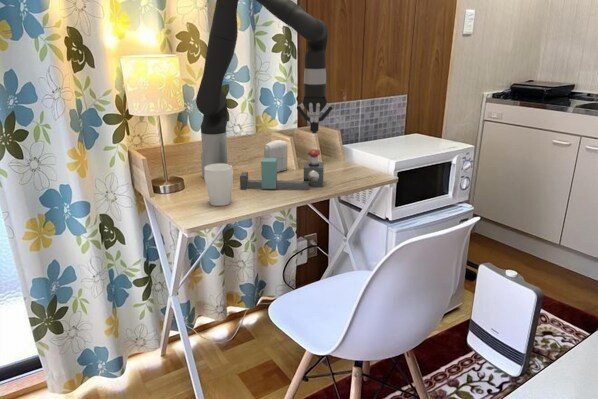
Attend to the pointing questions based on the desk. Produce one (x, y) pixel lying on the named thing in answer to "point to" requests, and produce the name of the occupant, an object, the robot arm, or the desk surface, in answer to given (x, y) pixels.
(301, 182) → the rail unit
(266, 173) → the carriage
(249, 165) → the desk surface
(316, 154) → the plunger
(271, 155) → the white rounded block
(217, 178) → the cup
